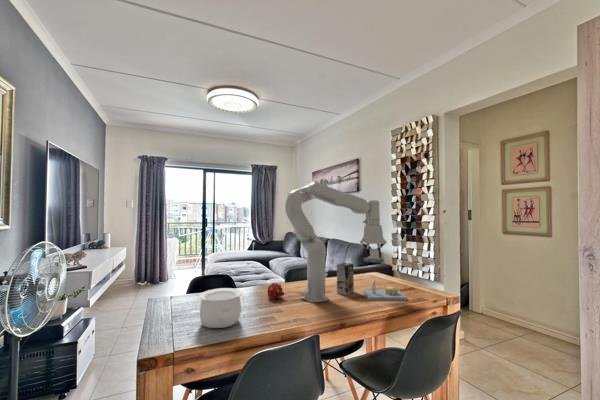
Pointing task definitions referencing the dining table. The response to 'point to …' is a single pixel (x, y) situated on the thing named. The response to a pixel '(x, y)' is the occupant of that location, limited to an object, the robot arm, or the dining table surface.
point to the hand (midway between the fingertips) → (373, 255)
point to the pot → (220, 307)
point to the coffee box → (345, 278)
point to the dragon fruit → (275, 291)
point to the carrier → (384, 293)
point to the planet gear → (374, 256)
